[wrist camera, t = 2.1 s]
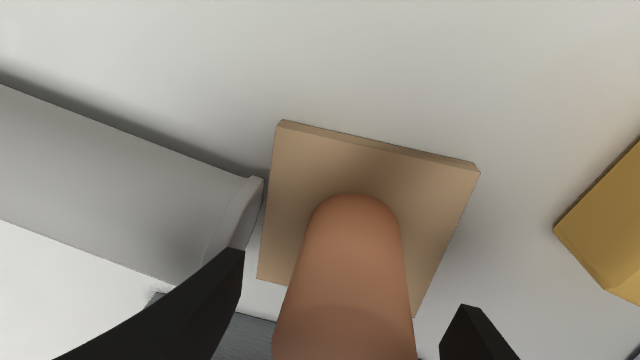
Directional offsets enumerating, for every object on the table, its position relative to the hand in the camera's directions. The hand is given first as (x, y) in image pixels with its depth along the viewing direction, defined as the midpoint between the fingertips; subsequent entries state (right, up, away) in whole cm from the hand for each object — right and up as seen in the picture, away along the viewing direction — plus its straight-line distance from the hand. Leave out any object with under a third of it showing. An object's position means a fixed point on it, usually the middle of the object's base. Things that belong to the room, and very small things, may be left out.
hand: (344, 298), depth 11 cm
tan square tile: (+1, +2, +4) cm, 5 cm away
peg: (+1, +2, +3) cm, 4 cm away
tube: (-15, +8, +1) cm, 17 cm away
